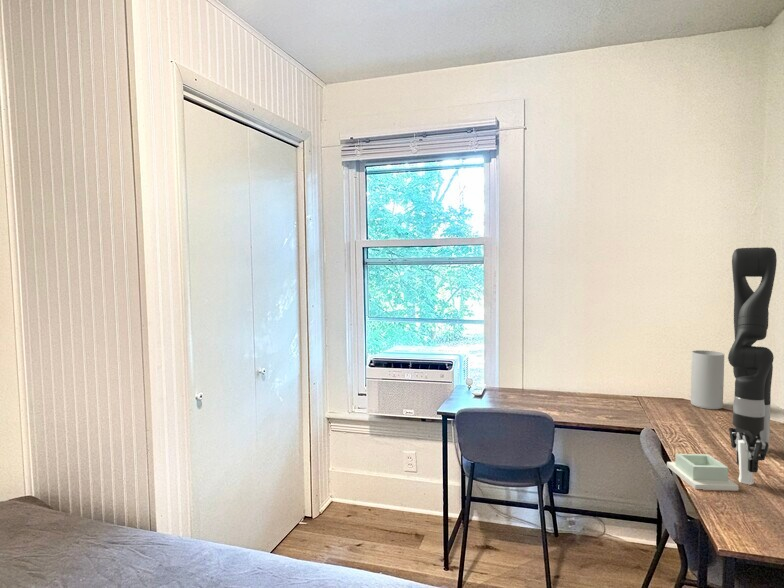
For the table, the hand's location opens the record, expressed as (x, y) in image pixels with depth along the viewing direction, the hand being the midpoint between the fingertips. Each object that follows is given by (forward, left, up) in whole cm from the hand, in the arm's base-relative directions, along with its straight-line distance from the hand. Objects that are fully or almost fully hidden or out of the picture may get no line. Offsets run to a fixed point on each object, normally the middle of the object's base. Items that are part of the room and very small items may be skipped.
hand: (746, 467), depth 140 cm
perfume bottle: (0, 0, -5) cm, 5 cm away
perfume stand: (-2, -12, -4) cm, 13 cm away
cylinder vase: (-79, +34, -5) cm, 86 cm away
